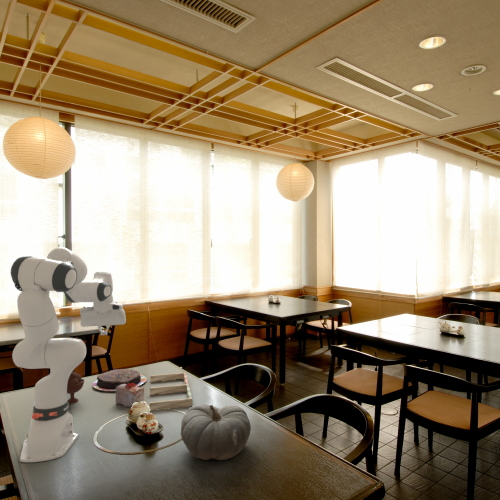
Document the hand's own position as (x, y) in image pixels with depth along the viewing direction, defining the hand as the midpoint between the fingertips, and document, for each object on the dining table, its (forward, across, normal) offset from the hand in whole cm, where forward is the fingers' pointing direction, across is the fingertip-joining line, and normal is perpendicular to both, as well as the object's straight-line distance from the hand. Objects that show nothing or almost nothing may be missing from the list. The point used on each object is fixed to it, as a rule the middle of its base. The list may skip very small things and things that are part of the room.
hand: (103, 334), depth 185 cm
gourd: (+31, +44, -58) cm, 80 cm away
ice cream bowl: (+32, -15, +4) cm, 36 cm away
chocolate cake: (+34, +5, +25) cm, 42 cm away
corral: (+32, +30, +3) cm, 44 cm away
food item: (+32, +12, -7) cm, 35 cm away
